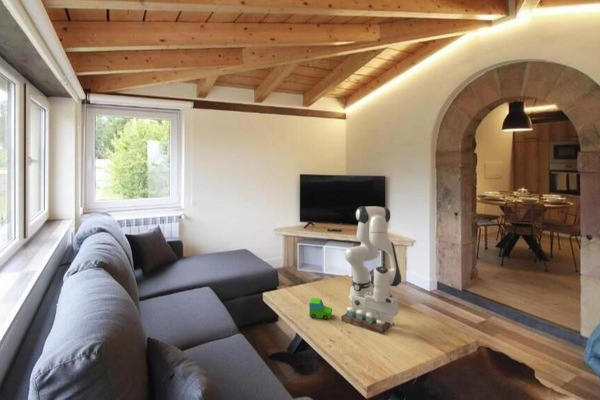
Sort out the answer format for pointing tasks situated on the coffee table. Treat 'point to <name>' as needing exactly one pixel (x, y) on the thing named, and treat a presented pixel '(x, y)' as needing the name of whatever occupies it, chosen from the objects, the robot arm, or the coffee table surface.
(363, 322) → the walnut button board
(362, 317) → the button
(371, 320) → the button
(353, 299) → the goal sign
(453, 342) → the coffee table surface
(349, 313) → the button
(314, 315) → the toy car
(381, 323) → the button
